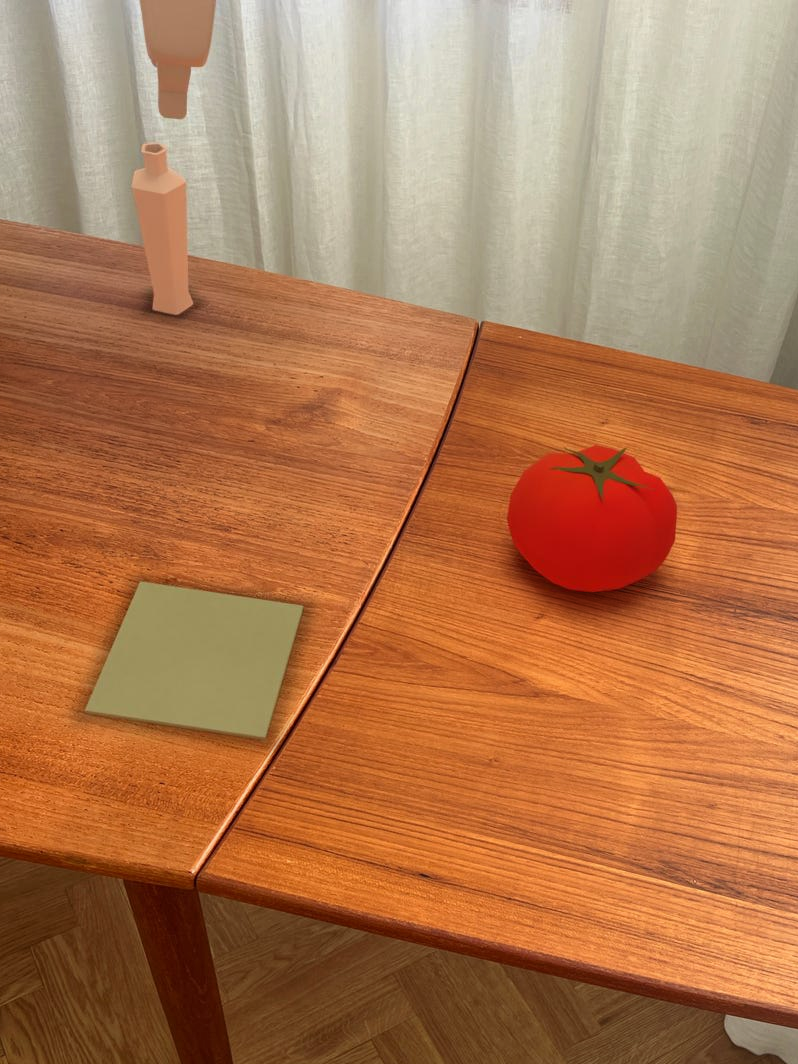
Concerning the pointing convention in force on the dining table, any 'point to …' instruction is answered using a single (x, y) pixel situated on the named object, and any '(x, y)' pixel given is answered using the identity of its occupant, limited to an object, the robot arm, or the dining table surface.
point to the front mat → (198, 661)
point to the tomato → (592, 519)
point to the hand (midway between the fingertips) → (167, 89)
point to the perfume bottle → (163, 228)
